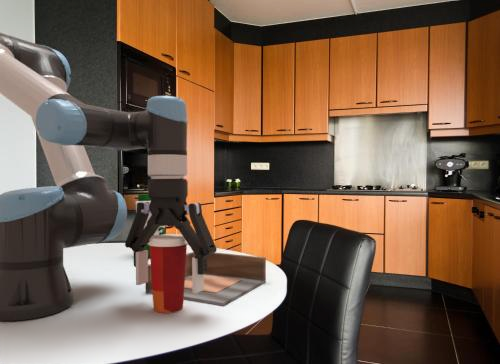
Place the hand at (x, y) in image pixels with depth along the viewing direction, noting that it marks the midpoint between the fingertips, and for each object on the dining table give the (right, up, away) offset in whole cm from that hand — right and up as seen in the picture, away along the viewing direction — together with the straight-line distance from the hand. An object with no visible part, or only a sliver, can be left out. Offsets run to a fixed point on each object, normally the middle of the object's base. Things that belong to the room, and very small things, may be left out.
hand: (169, 287), depth 77 cm
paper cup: (0, -4, 0) cm, 4 cm away
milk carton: (-16, -4, +51) cm, 53 cm away
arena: (+6, -4, +15) cm, 17 cm away
